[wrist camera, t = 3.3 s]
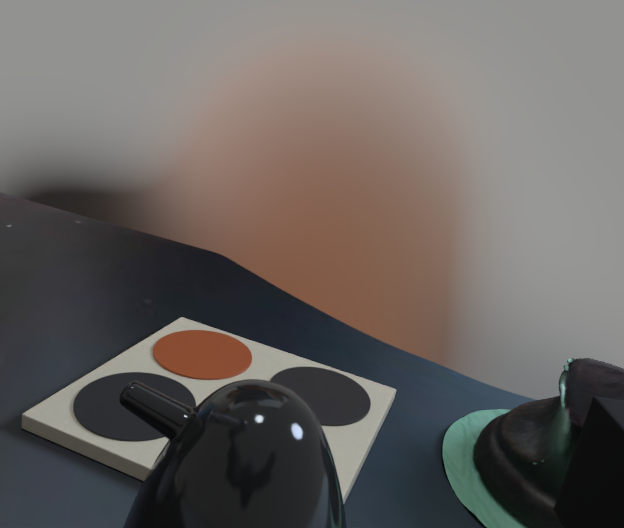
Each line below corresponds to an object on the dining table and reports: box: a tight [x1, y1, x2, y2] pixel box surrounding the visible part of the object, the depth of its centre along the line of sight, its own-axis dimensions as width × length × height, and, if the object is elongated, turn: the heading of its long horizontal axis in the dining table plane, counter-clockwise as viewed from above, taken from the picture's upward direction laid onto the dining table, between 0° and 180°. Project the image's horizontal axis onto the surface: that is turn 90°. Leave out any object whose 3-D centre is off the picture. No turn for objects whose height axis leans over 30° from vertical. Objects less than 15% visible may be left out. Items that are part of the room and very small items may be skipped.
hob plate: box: [22, 317, 396, 504], centre depth 46 cm, size 22×20×1 cm
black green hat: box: [443, 358, 624, 528], centre depth 44 cm, size 15×19×20 cm
